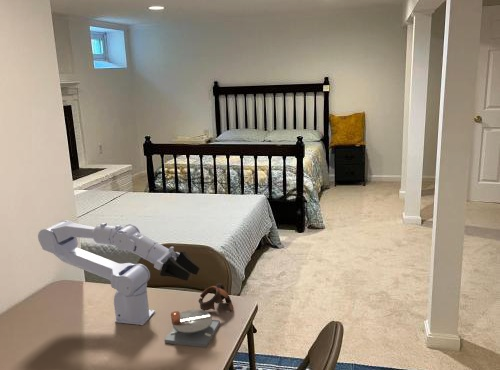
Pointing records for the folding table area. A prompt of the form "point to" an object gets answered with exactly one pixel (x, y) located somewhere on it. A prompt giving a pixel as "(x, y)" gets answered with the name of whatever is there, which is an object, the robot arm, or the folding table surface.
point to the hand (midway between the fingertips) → (193, 274)
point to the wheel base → (193, 336)
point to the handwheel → (191, 321)
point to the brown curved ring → (215, 297)
